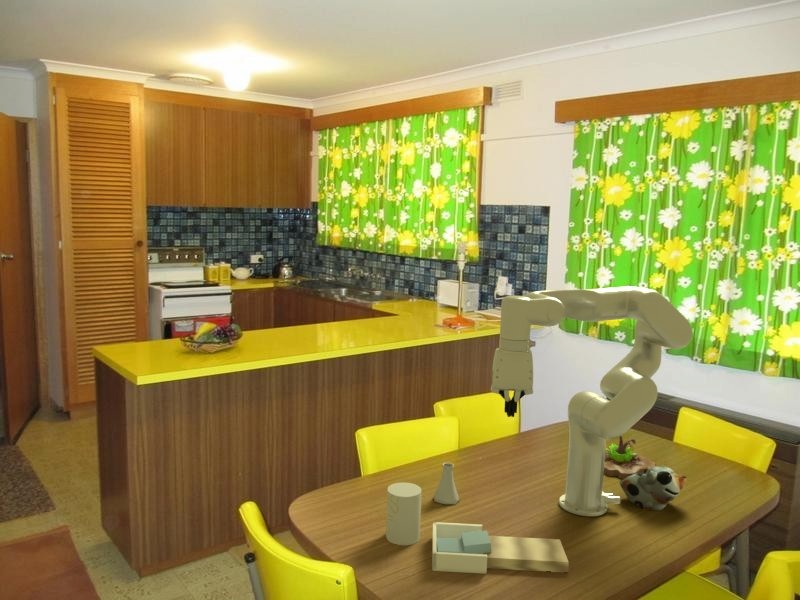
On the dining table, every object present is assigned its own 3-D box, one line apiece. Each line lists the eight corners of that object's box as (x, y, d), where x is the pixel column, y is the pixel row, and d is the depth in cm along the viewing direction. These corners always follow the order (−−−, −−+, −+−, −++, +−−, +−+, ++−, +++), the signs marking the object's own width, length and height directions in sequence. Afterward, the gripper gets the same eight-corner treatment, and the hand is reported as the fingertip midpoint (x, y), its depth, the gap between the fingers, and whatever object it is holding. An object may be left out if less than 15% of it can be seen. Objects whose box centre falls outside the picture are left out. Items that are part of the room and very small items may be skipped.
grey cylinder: (385, 528, 159) (386, 482, 158) (417, 528, 160) (419, 482, 159) (387, 545, 151) (388, 496, 150) (421, 545, 152) (423, 496, 151)
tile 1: (461, 547, 150) (461, 538, 150) (464, 561, 145) (464, 551, 144) (435, 546, 150) (436, 537, 150) (437, 560, 144) (437, 551, 144)
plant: (618, 451, 219) (621, 419, 218) (666, 472, 202) (669, 438, 201) (574, 460, 210) (576, 427, 208) (620, 483, 193) (623, 447, 191)
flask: (458, 507, 173) (459, 471, 172) (431, 503, 174) (432, 468, 173) (461, 495, 180) (462, 461, 179) (435, 492, 181) (436, 458, 180)
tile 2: (487, 539, 151) (486, 530, 150) (491, 552, 145) (490, 543, 144) (462, 541, 151) (461, 533, 150) (464, 555, 145) (464, 545, 144)
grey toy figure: (651, 489, 188) (679, 455, 182) (672, 522, 178) (703, 487, 172) (611, 479, 183) (638, 444, 177) (630, 513, 173) (659, 477, 167)
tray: (481, 540, 155) (482, 524, 155) (486, 573, 141) (487, 556, 140) (432, 537, 156) (432, 522, 155) (432, 570, 141) (433, 553, 141)
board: (559, 549, 152) (559, 539, 152) (567, 572, 142) (568, 562, 142) (482, 545, 153) (483, 535, 153) (485, 568, 143) (486, 557, 143)
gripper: (541, 343, 166) (537, 412, 168) (483, 340, 167) (479, 409, 169) (546, 349, 158) (542, 421, 161) (485, 346, 159) (482, 418, 162)
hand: (510, 415), depth 165 cm, fingers closed
